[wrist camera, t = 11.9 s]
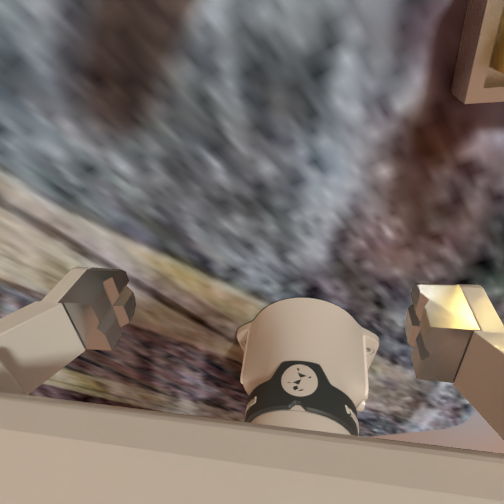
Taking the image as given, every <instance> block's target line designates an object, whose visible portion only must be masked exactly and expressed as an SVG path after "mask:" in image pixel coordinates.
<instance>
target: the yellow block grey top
mask: <svg viewBox="0 0 504 504" xmlns="http://www.w3.org/2000/svg"><path fill="white" fill-rule="evenodd" d="M492 68H493V69H495V70H497V71H499V72H501V73H503V74H504V15H503V20H502V24H501V29H500V34H499V39H498V43H497V48H496V53H495V58H494V62H493V67H492Z"/></svg>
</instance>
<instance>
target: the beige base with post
mask: <svg viewBox="0 0 504 504" xmlns="http://www.w3.org/2000/svg"><path fill="white" fill-rule="evenodd" d="M503 15H504V0H468V5H467V10H466V15H465V20H464V25H463V30H462V35H461V40H460V45H459V50H458V55H457V60H456V65H455V70H454V75H453V81H452V86H451V91H450V92H451V93H452V94H453V95H454V96H456V97H457V98H458V99H459V100H460V101H461V102H463V103H464V104H473V103H489V102H504V74H503V73H501V72H499V71H497V70H495V69H493V68H492V67H493V62H494V58H495V53H496V48H497V43H498V39H499V34H500V29H501V24H502V20H503Z"/></svg>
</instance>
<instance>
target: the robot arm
mask: <svg viewBox="0 0 504 504" xmlns="http://www.w3.org/2000/svg"><path fill="white" fill-rule="evenodd" d="M128 282H129V279H128V277H127V274H126V272H125V271H123V270H120V269H105V268H88V267H76V268H72V269H71V270H70V271H69V272H68V273H67V275H66V276H65V277H64V278H63V279H62V280H61V281H60V282H59V283H58V284H57V285H56V286H55V287H54V288H53V289H52V290H51V291H50V292H49V293H48V294H47V295H46V297H45V298H44V299H43V300H42V301H41V302H38V301H36V302H34V303H32V304H30V305H28V306H25V307H23V308H21V309H19V310H17V311H15V312H13V313H11V314H9V315H7V316H5V317H3V318H1V319H0V504H504V454H501V453H493V452H485V451H477V450H469V449H461V448H453V447H444V446H436V445H428V444H420V443H412V442H404V441H396V440H388V439H379V438H371V437H363V436H358V435H359V434H358V433H359V425H358V420H357V411H363V410H364V407H365V400H367V398H368V369H369V367H370V364H371V362H372V360H373V358H374V356H375V354H376V352H377V350H378V347H379V338H378V336H377V335H375V334H374V333H372V332H370V331H368V330H366V329H364V328H362V327H361V326H360V325H359V324H358V323H357V322H356V321H355V320H354V319H353V317H352V316H351V315H350V314H348V313H347V312H346V311H345V310H343V309H342V308H340V307H338V306H336V305H334V304H331V303H329V302H326V301H322V300H318V299H312V298H291V299H285V300H281V301H278V302H275V303H273V304H271V305H269V306H268V307H266V308H265V309H263V310H262V311H261V312H260V313H259V314H258V316H257V317H256V318H255V319H254V320H253V321H252V322H250V323H248V324H246V325H243V326H242V327H240V328H239V329H238V330H237V340H238V342H239V344H240V346H241V348H242V350H243V352H244V358H243V364H242V371H241V377H240V381H241V384H243V386H244V389H245V391H246V392H247V394H248V395H249V399H248V405H247V407H246V410H245V417H244V418H245V419H244V420H245V422H240V421H232V420H224V419H216V418H208V417H200V416H192V415H184V414H176V413H168V412H160V411H151V410H143V409H135V408H127V407H119V406H111V405H103V404H95V403H86V402H78V401H70V400H62V399H54V398H46V397H38V396H30V395H28V394H29V393H31V392H32V391H33V390H35V389H36V388H37V387H38V386H40V385H41V384H42V383H44V382H45V381H46V380H48V379H49V378H50V377H51V376H53V375H54V374H55V373H57V372H58V371H59V370H61V369H62V368H63V367H64V366H66V365H67V364H68V363H70V362H71V361H72V360H74V359H75V358H76V357H77V356H79V355H80V354H81V353H83V352H84V351H85V349H94V350H111V351H112V350H113V348H114V346H115V345H116V343H117V341H118V340H119V338H120V337H121V335H122V329H121V327H122V326H124V325H126V324H127V323H129V322H130V320H131V318H132V317H133V315H134V311H135V306H136V303H135V296H134V293H133V291H131V290H130V289H129V288H128V287H127V284H128ZM411 298H412V302H413V304H412V305H411V306H410V307H408V310H407V315H406V335H407V340H408V343H409V344H410V345H411V346H412V347H413V352H412V356H411V358H412V362H413V366H414V370H415V374H416V378H417V379H424V380H433V381H441V382H450V383H454V384H453V385H454V386H455V387H456V388H457V389H458V390H459V391H460V392H461V394H462V395H463V396H464V397H465V398H466V399H467V400H468V401H469V402H470V403H471V405H472V406H473V407H474V408H475V409H476V410H477V411H478V412H479V413H480V414H481V415H482V417H483V418H484V419H485V420H486V421H487V422H488V423H489V424H490V425H491V427H492V428H493V429H494V430H495V431H496V432H497V433H498V434H499V435H500V436H501V438H502V439H503V440H504V326H503V324H502V322H501V320H500V318H499V317H498V315H497V313H496V311H495V309H494V307H493V306H492V304H491V302H490V300H489V298H488V296H487V295H486V293H485V291H484V289H483V287H481V286H480V285H458V284H457V285H444V284H420V283H415V284H414V286H413V288H412V292H411Z"/></svg>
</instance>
